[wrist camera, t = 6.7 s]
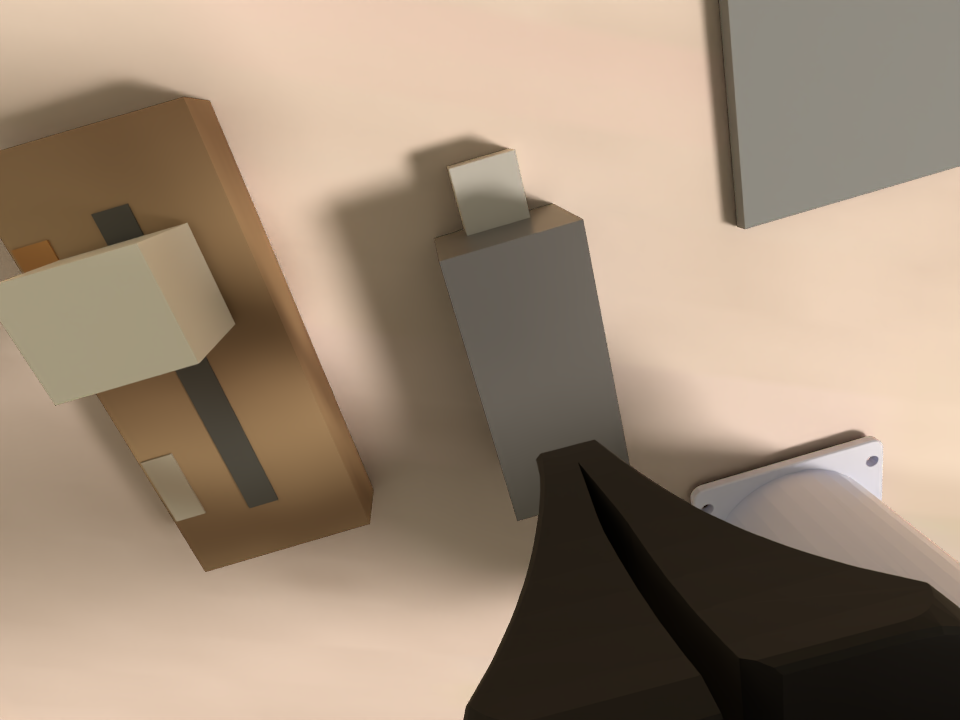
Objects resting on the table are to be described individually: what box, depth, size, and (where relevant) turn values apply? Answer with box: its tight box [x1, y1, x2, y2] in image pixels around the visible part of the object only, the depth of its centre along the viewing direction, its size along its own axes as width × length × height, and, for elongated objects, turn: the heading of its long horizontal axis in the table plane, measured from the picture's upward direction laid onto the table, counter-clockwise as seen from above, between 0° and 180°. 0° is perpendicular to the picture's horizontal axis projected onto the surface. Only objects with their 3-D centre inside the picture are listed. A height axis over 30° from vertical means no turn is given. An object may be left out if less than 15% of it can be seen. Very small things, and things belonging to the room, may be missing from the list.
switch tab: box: [0, 223, 235, 406], centre depth 14 cm, size 3×4×3 cm
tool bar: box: [434, 148, 630, 521], centre depth 18 cm, size 11×4×4 cm, turn 15°
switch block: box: [0, 97, 374, 572], centre depth 18 cm, size 14×6×2 cm, turn 15°
